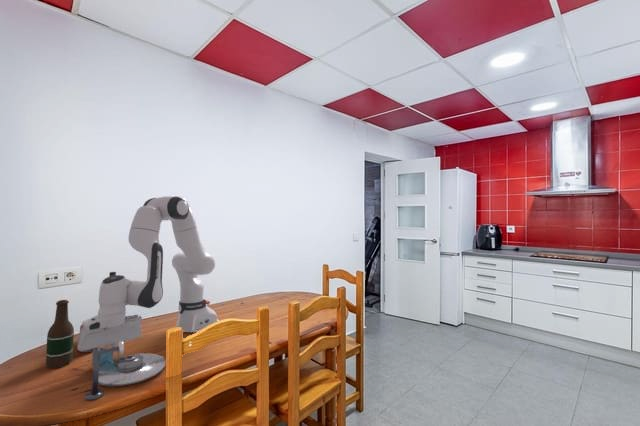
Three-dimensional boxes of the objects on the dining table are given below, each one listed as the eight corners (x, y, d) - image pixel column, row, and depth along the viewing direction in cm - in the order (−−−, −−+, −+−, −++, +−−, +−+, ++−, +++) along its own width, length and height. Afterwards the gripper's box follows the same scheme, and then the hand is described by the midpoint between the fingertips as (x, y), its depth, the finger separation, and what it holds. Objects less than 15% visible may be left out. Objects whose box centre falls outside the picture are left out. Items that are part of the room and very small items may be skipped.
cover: (128, 361, 115) (129, 351, 115) (147, 363, 114) (148, 353, 114) (111, 371, 107) (111, 360, 107) (131, 374, 106) (132, 363, 106)
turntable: (118, 352, 125) (119, 337, 125) (177, 360, 120) (178, 344, 120) (65, 379, 103) (66, 361, 103) (134, 390, 98) (135, 372, 99)
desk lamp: (119, 384, 103) (121, 338, 103) (122, 391, 100) (124, 343, 100) (83, 395, 97) (86, 345, 97) (85, 402, 93) (88, 351, 93)
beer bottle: (58, 358, 120) (61, 297, 120) (77, 359, 119) (80, 298, 120) (39, 368, 112) (43, 303, 112) (60, 369, 112) (63, 304, 112)
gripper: (139, 311, 126) (138, 345, 126) (77, 322, 111) (75, 360, 111) (144, 315, 122) (143, 350, 122) (80, 327, 107) (78, 367, 107)
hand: (110, 355), depth 116 cm, fingers closed
